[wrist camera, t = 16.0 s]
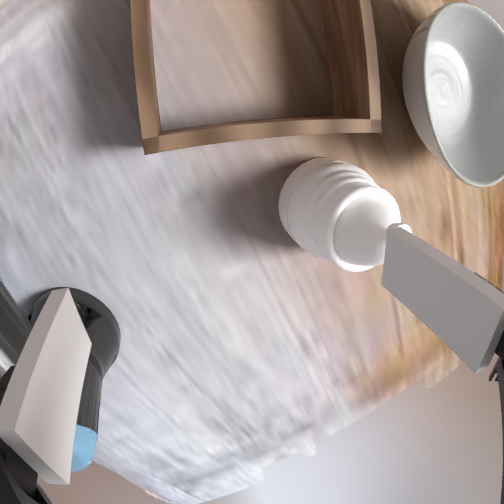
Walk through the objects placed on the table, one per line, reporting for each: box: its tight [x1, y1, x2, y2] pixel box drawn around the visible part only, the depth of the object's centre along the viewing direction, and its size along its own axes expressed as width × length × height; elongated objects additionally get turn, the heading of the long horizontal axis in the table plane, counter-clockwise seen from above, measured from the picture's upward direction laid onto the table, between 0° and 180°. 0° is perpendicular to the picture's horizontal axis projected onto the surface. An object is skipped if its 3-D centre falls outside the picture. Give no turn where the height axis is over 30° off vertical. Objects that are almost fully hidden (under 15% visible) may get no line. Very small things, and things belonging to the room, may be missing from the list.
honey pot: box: [278, 157, 412, 272], centre depth 36 cm, size 13×13×18 cm
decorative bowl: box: [402, 1, 504, 188], centre depth 35 cm, size 27×27×12 cm
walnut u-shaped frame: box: [130, 0, 382, 155], centre depth 29 cm, size 25×22×9 cm
